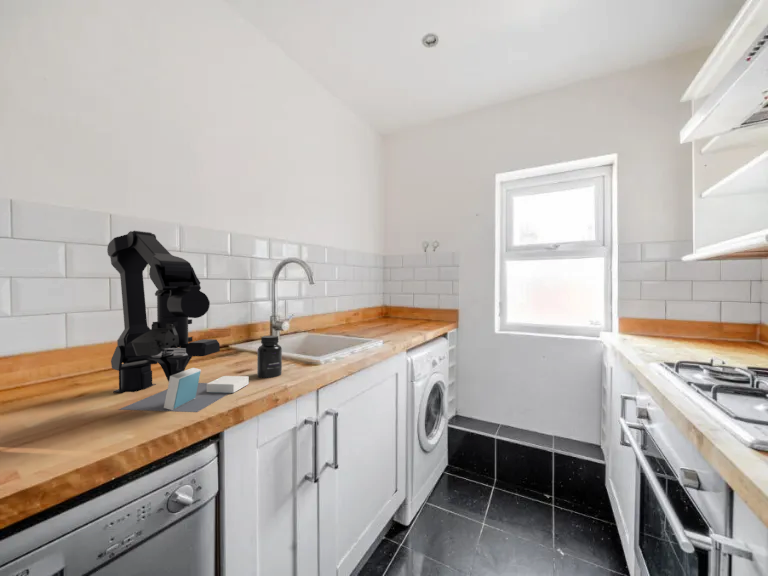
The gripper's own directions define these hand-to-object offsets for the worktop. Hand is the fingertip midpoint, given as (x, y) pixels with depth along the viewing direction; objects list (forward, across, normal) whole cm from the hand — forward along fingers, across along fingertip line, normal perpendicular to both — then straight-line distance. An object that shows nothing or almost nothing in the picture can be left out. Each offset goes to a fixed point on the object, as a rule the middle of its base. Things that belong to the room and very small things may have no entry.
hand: (173, 385), depth 70 cm
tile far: (+3, +2, +11) cm, 12 cm away
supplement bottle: (+5, +11, +24) cm, 27 cm away
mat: (+5, -1, +6) cm, 7 cm away
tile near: (+4, +1, 0) cm, 4 cm away
